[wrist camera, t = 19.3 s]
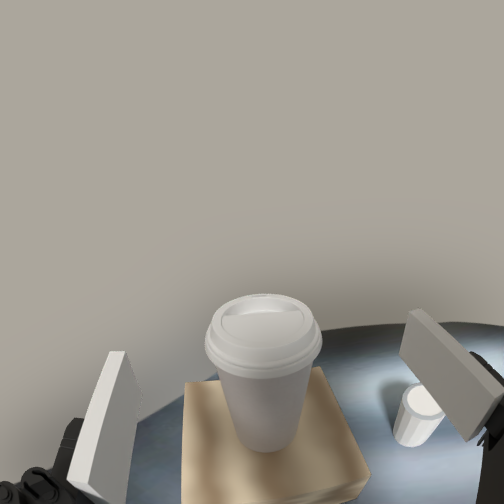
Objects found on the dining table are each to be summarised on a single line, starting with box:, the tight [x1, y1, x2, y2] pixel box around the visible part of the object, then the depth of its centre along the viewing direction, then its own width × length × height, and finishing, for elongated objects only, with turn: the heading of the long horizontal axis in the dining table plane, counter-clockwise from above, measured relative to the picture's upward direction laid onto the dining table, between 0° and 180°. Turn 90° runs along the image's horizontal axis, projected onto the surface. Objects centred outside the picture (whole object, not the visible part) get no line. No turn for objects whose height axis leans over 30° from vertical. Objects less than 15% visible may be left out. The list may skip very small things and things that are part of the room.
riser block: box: [181, 366, 371, 504], centre depth 29 cm, size 18×18×7 cm
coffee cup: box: [205, 294, 322, 453], centre depth 25 cm, size 10×10×15 cm
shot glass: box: [393, 382, 445, 447], centre depth 29 cm, size 7×7×7 cm
